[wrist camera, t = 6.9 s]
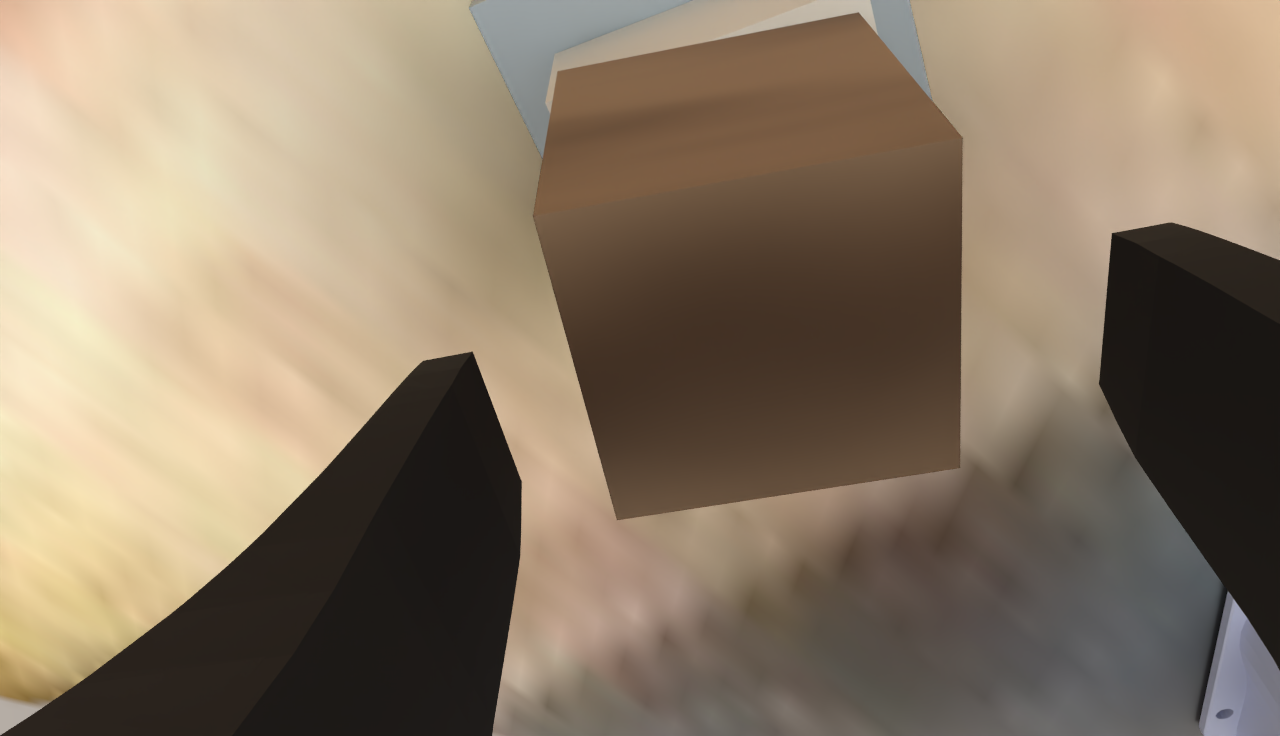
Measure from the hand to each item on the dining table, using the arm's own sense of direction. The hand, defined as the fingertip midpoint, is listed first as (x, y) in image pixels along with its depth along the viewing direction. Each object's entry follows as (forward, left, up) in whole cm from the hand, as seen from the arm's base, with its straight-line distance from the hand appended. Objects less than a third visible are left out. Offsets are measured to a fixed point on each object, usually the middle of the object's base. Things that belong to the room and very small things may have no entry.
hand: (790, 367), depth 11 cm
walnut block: (0, 0, -5) cm, 5 cm away
